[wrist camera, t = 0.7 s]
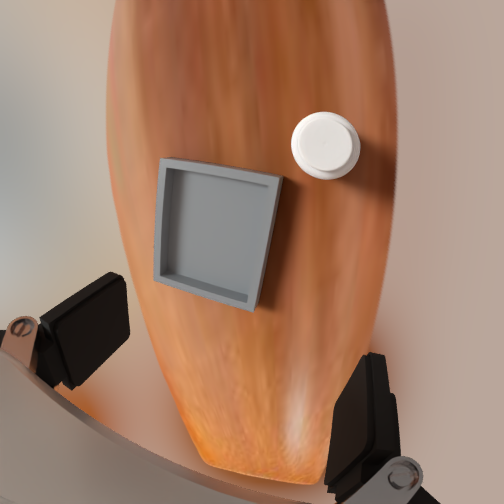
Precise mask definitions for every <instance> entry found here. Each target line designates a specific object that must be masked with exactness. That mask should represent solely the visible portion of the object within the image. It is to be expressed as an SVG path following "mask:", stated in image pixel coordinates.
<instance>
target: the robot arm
mask: <svg viewBox="0 0 504 504" xmlns="http://www.w3.org/2000/svg"><path fill="white" fill-rule="evenodd" d="M40 321H41V324H39V325H38V323H37V321H36V320H35V319H34V318H32V317H29V316H21V317H18V318H16V319H14V320H13V321H12V322H11V323H9V325H8V327H7V330H0V504H310V503H305V502H300V501H294V500H290V499H285V498H280V497H276V496H272V495H268V494H264V493H260V492H256V491H253V490H249V489H246V488H242V487H239V486H235V485H232V484H229V483H226V482H223V481H220V480H217V479H214V478H212V477H209V476H206V475H204V474H201V473H198V472H196V471H193V470H190V469H188V468H186V467H183V466H181V465H179V464H176V463H174V462H172V461H170V460H168V459H166V458H163V457H161V456H159V455H157V454H155V453H153V452H151V451H149V450H147V449H145V448H143V447H141V446H139V445H138V444H136V443H134V442H132V441H130V440H128V439H127V438H125V437H123V436H121V435H120V434H118V433H116V432H115V431H113V430H111V429H110V428H108V427H106V426H105V425H103V424H102V423H100V422H98V421H97V420H95V419H94V418H92V417H91V416H89V415H88V414H86V413H85V412H84V411H82V410H81V409H79V408H78V407H76V406H75V405H74V404H72V403H71V402H70V401H68V400H67V399H66V398H64V397H63V396H62V395H60V394H59V393H58V392H59V383H60V382H61V381H62V383H63V384H64V385H65V386H66V387H68V388H69V389H70V390H73V389H74V388H75V387H76V386H80V385H81V384H83V383H84V382H85V380H87V379H88V378H89V377H90V376H91V375H92V374H93V373H94V372H95V370H97V369H98V367H100V366H101V365H102V364H103V363H104V362H105V361H106V360H107V359H108V358H109V357H110V356H111V355H112V354H113V353H114V352H115V351H116V350H117V349H118V348H119V347H120V346H121V345H122V344H123V343H124V342H125V341H126V340H127V339H128V338H129V335H130V326H129V315H128V303H127V288H126V282H125V281H124V278H123V277H122V276H121V275H118V274H116V273H113V272H108V273H107V274H105V275H103V276H102V277H100V278H99V279H97V280H95V281H94V282H92V283H91V284H89V285H88V286H86V287H84V288H83V289H81V290H80V291H79V292H77V293H75V294H74V295H72V296H71V297H69V298H67V299H66V300H64V301H63V302H62V303H60V304H58V305H57V306H55V307H54V308H53V309H51V310H50V311H48V312H47V313H45V314H44V315H42V316H41V317H40ZM399 436H400V435H399V423H398V413H397V404H396V398H395V395H394V394H393V393H390V388H389V380H388V373H387V366H386V359H385V356H384V355H381V354H376V353H372V352H369V353H368V354H367V356H366V355H363V356H362V357H361V359H360V361H359V363H358V364H357V366H356V368H355V370H354V372H353V374H352V375H351V377H350V379H349V381H348V383H347V384H346V386H345V388H344V389H343V391H342V393H341V395H340V396H339V398H338V400H337V401H336V403H335V406H334V411H333V421H332V430H331V439H330V446H329V454H328V461H327V467H326V474H325V480H324V484H325V485H328V490H327V493H334V494H336V496H335V500H336V503H335V504H440V503H439V502H438V501H437V500H436V499H434V497H432V496H431V495H430V494H429V493H428V492H427V491H425V489H424V488H423V487H421V484H422V481H423V471H422V469H421V467H420V465H419V464H418V463H417V462H416V461H415V460H413V459H412V458H409V457H405V456H401V449H400V437H399Z"/></svg>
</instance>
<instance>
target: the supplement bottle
mask: <svg viewBox="0 0 504 504" xmlns="http://www.w3.org/2000/svg"><path fill="white" fill-rule="evenodd" d="M291 147H292V153H293V156H294V158H295V160H296V162H297V163H298V165H299V166H300V167H301V168H302V169H303V170H304V171H305V172H306V173H308V174H309V175H311V176H313V177H316V178H319V179H327V180H328V179H336V178H339V177H342V176H344V175H345V174H347V173H348V172H349V171H350V170H351V169H352V168H353V167H354V166H355V164H356V162H357V160H358V158H359V154H360V140H359V137H358V134H357V132H356V130H355V128H354V127H353V126H352V124H351V123H350V122H349V121H347V120H346V119H345V118H343V117H342V116H340V115H337V114H335V113H331V112H318V113H314V114H311V115H309V116H307V117H305V118H304V119H303V120H302V121H301V122H300V123H299V124H298V125H297V126H296V128H295V130H294V132H293V135H292V141H291Z"/></svg>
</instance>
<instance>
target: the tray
mask: <svg viewBox="0 0 504 504" xmlns="http://www.w3.org/2000/svg"><path fill="white" fill-rule="evenodd" d="M282 182H283V176H281V175H276V174H271V173H266V172H261V171H256V170H251V169H245V168H240V167H234V166H228V165H222V164H216V163H209V162H203V161H196V160H189V159H181V158H174V157H167V158H160V164H159V175H158V186H157V199H156V214H155V235H154V281H157V282H160V283H162V284H165V285H168V286H171V287H174V288H177V289H180V290H183V291H186V292H189V293H192V294H195V295H198V296H201V297H204V298H208V299H211V300H214V301H217V302H220V303H224V304H227V305H230V306H233V307H237V308H240V309H243V310H247V311H250V312H254V310H255V309H256V307H257V305H258V303H259V298H260V294H261V289H262V284H263V279H264V274H265V269H266V264H267V259H268V254H269V249H270V244H271V239H272V234H273V229H274V224H275V218H276V213H277V208H278V203H279V198H280V192H281V187H282Z"/></svg>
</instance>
